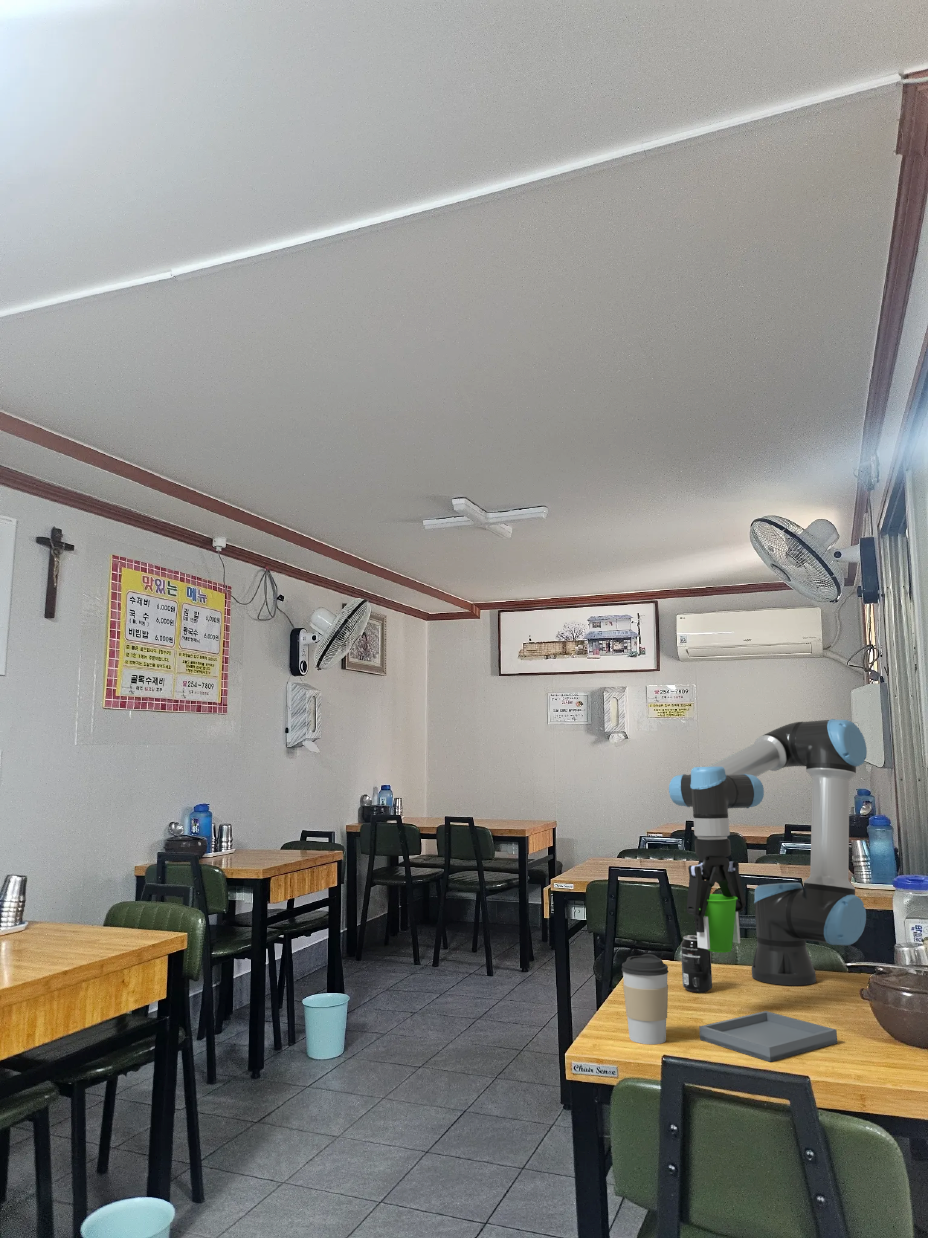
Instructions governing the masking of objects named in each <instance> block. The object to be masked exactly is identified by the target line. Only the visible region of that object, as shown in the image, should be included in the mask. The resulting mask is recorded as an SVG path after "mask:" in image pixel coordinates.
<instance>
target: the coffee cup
mask: <svg viewBox="0 0 928 1238" xmlns="http://www.w3.org/2000/svg"><path fill="white" fill-rule="evenodd" d="M668 968H669V966H668V965H667V964H666V963H664V961H663V960H662V958H660V957H658V956H657V955H655V954H653V953H644V954H641V955H632V956H628V957H627V958H626V961H624V962H622V964H621V971H622V976H623V977H622V978H623V983H622V985H623V993H624V1004H625V1006H624V1007H625V1013H626V1014H625V1015H626V1017H627V1027H628V1036H629V1037H628V1038H629V1039H630V1041H631V1042H634V1043H637V1044H644V1045H659V1044H660V1045H661V1044H663V1043H665V1042H666V1040H667V1018H668V1001H669V984H668V973H669V971H670V970H668Z"/></svg>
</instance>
